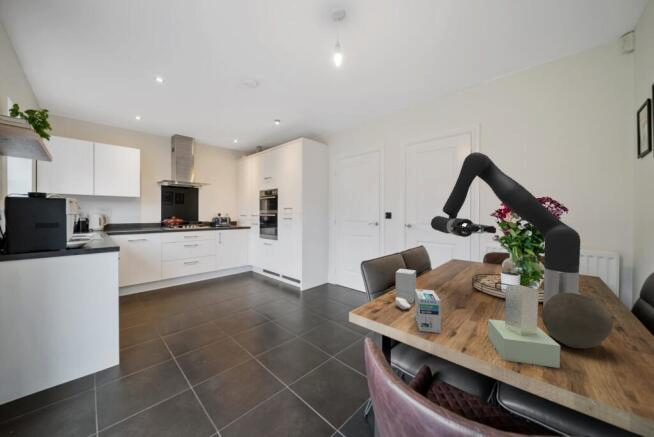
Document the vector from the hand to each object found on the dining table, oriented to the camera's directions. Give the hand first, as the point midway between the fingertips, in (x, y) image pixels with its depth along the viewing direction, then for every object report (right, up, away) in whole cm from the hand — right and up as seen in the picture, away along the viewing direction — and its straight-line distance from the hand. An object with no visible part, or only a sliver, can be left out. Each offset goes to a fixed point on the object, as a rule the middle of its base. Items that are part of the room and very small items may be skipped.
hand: (483, 230), depth 89 cm
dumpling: (-26, -32, +10) cm, 42 cm away
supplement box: (-22, -32, +20) cm, 43 cm away
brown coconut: (+16, -33, -17) cm, 40 cm away
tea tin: (-2, -27, -20) cm, 34 cm away
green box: (-2, -33, -20) cm, 39 cm away
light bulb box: (-22, -32, -4) cm, 40 cm away
